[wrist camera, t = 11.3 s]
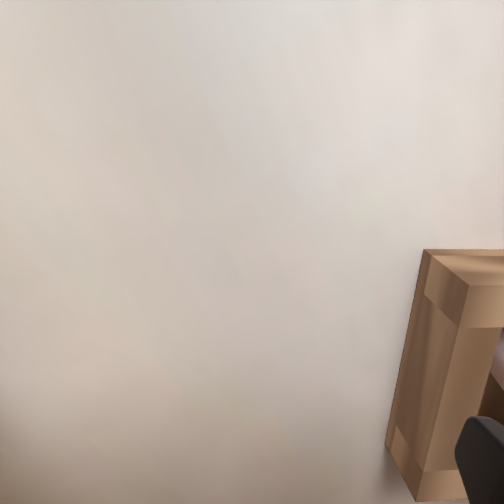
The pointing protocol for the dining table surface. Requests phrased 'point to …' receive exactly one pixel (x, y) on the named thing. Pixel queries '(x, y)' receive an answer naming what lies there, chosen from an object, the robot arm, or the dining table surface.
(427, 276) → the caddy
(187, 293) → the dining table surface
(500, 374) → the smoothie
